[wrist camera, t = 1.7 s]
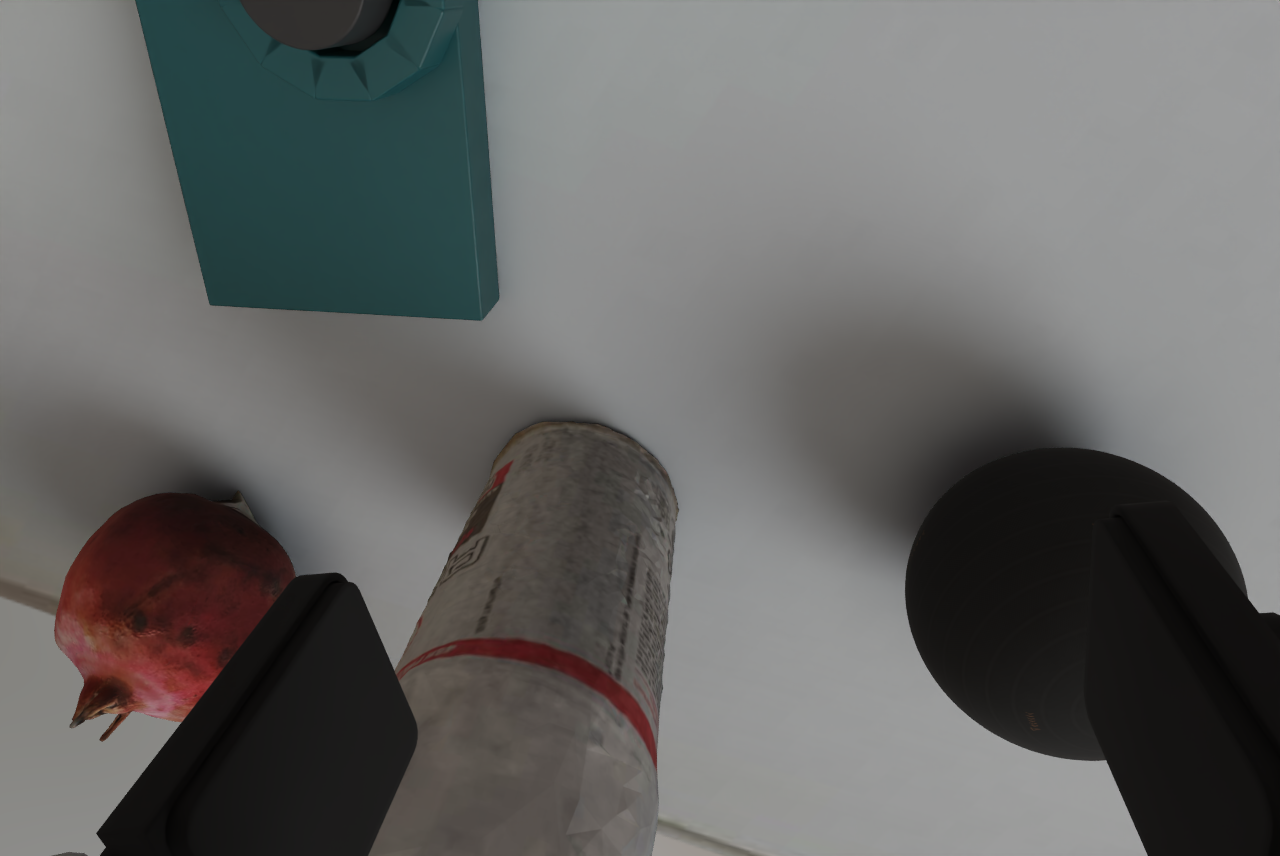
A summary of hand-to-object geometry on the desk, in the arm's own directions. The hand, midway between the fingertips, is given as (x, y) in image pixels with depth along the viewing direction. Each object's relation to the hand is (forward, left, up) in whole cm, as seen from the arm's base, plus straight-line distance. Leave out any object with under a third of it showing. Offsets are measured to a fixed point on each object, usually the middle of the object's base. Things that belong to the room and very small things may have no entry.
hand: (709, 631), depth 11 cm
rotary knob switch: (-3, -14, -20) cm, 25 cm away
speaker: (+11, +11, -20) cm, 26 cm away
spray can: (+12, -6, -20) cm, 24 cm away
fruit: (+16, -22, -20) cm, 34 cm away
